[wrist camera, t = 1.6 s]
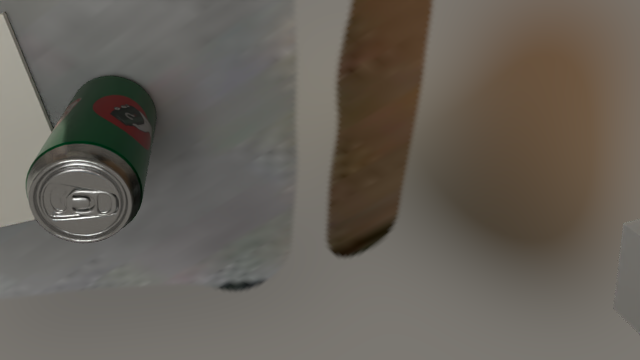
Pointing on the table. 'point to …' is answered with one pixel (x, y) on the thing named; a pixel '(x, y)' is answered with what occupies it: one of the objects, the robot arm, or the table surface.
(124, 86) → the soda can
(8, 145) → the folded white napkin
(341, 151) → the table surface
